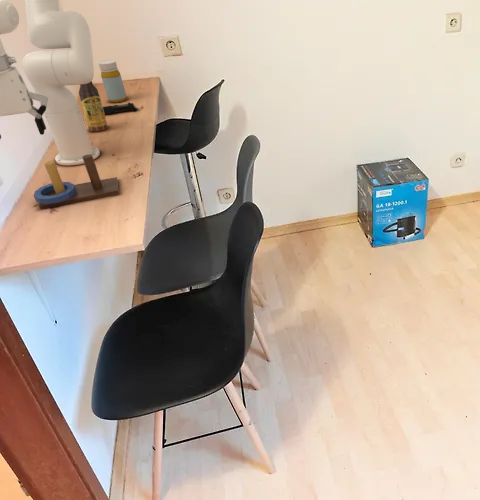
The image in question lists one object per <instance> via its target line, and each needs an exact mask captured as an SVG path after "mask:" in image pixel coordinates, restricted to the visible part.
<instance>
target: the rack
mask: <svg viewBox="0 0 480 500" xmlns="http://www.w3.org/2000/svg"><path fill="white" fill-rule="evenodd" d="M82 158H83V161H84V163H83V164H84V167H85V168H86V172H87V175H88V178H89V180H90V181H88V182H83V183H76V184H74V185H75V188H76V194H75V195H74V196H72V197H71V198H70V199H67V200H65V201H62V202H58V203H53V204H40V203H38V204H39V209H40V210H42V209H43V210H45V209H48V208H55V207H59V206H65V205H69V204H75V203H81V202H86V201H92V200H96V199H102V198H106V197H107V198H108V197H112V196H117V195H120V189H119V179H118V177H117V176H116V177H111V178H105V179H104V178H103V179H101V177H100V174H99V172H98V169H97V165H96V162H95V159H93V156H92V155H90V154H88V155H84V156H83V157H82ZM43 165H44V167H45V169H46V172H47V174H48V178H49V180H50V183H52V185H53V187H54V190H55V191H52V192H49V193H47V194H46V195H44V196H52V195H57V194H60V193H62V192H64V191H65V188H64V185H63V183H62V182H63V180H62V177H61V174H60V172H59V170H58V166H57V163H56V161H55V160H48V161H45V162H44V163H43Z"/></svg>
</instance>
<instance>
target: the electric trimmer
mask: <svg viewBox="0 0 480 500" xmlns="http://www.w3.org/2000/svg"><path fill="white" fill-rule="evenodd" d="M102 107H103V110H104V114H105V115H112V114H115V113H121V112H129V111H130V112H131V111H134V112H136V111H138V108H137V107H136V105H135V104H134V103H133V102H127V103H123V104H114V105H113V104H112V105H106V106H105V105H104V106H102Z"/></svg>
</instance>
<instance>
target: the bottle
mask: <svg viewBox="0 0 480 500" xmlns="http://www.w3.org/2000/svg"><path fill="white" fill-rule="evenodd" d="M98 66H99V69H100V76H101V80H102V83H103V87H104V90H105V91H104V92H105V94H106V97H107V101H108V102H109V103H113V104H117V103H122V102H125V101H126V100H127V98H128V97H127V93H126V90H125V89H126V88H125V85H124V82H123V79H122V75H121V72H120V70H119V69H118V65H117V61H116V60H115V59H106V60H101V61H99V62H98Z"/></svg>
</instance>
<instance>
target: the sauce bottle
mask: <svg viewBox="0 0 480 500" xmlns="http://www.w3.org/2000/svg"><path fill="white" fill-rule="evenodd" d="M78 95H79V99H80V104H81V108H82V111H83V115H84V118H85V120H86V125H87V128H88V130H89V131H90V132H96V133H97V132H102V131H104V130H107V129H108V124H107V123H108V122H107V119H106V114H104V110H103V107H104V106H103V103H102V99H101V97H100V93H99V91H98V88H97V87H96V86H95V85H94V84H93V80H92V81H91V82H90V83H87V84H80V85H79V90H78Z"/></svg>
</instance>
